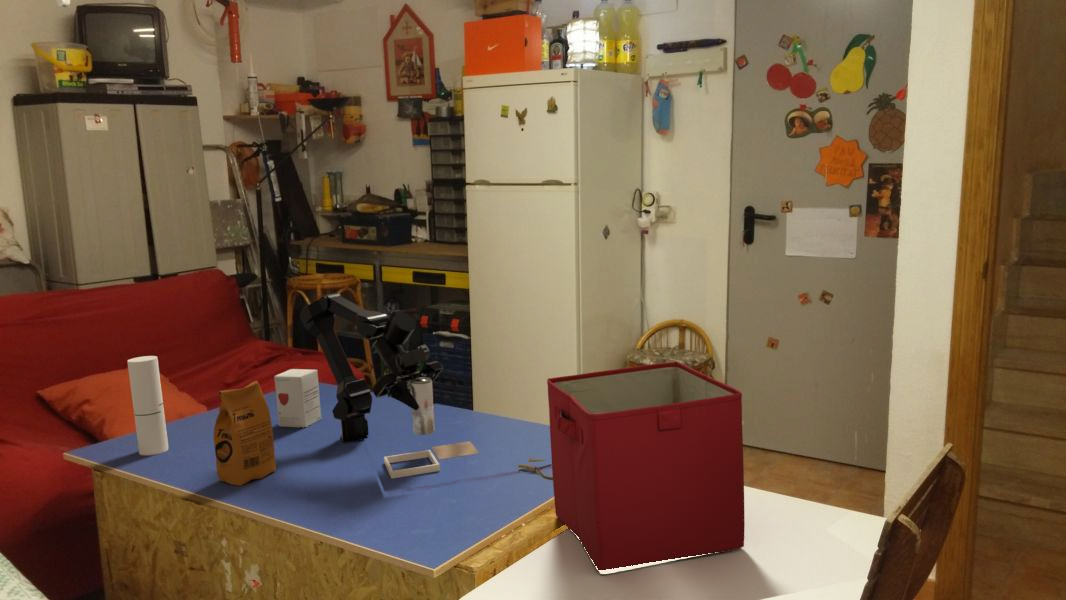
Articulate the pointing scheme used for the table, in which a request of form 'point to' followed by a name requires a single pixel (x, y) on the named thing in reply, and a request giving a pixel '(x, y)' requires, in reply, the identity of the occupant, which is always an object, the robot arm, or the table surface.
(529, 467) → the extension cord
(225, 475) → the coffee package
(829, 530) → the table surface
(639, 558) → the storage cube
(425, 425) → the shiny metal canister
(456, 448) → the walnut board
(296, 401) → the supplement box
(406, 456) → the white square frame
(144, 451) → the cylindrical container
